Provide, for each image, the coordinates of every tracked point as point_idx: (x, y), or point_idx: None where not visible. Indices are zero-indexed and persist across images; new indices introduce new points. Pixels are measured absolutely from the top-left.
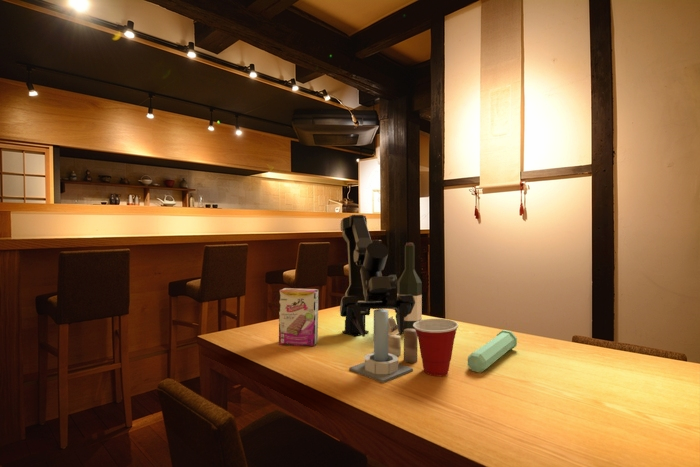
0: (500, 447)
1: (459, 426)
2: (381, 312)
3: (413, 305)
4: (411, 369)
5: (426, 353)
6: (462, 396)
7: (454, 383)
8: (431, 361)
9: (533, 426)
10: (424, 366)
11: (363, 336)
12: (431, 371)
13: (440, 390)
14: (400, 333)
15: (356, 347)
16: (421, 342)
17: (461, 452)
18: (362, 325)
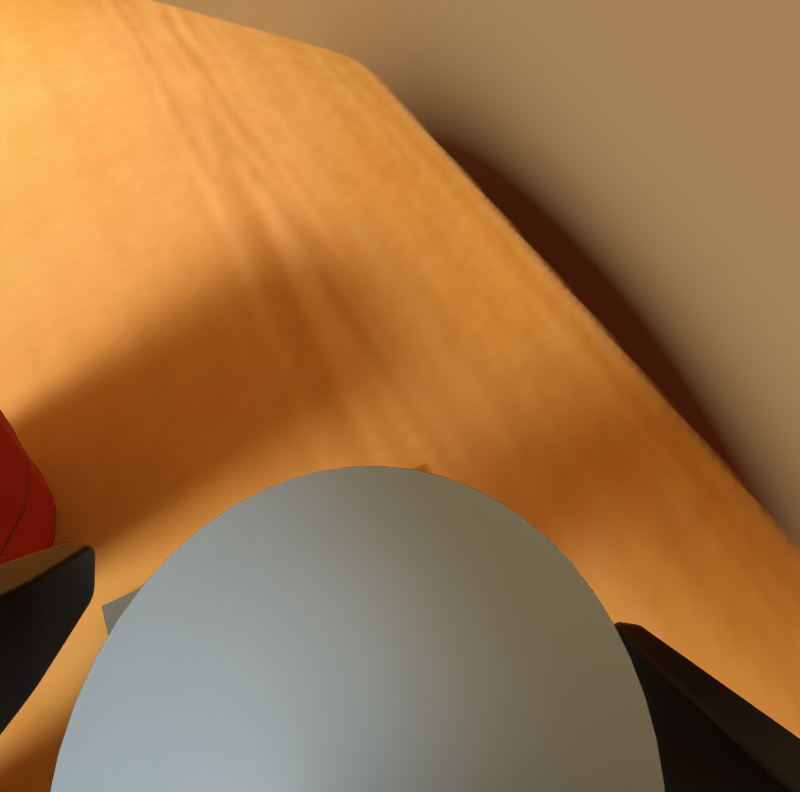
0: (272, 64)
1: (302, 135)
2: (449, 486)
3: None
4: (123, 598)
5: (6, 431)
6: (125, 249)
7: (28, 357)
8: (14, 433)
9: (97, 77)
10: (41, 526)
11: None
12: (42, 477)
13: (170, 318)
14: (93, 561)
15: None
16: None
17: (373, 81)
18: (729, 709)
